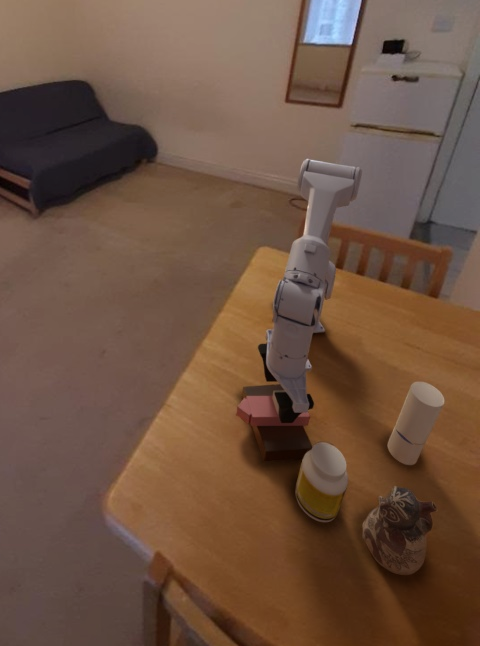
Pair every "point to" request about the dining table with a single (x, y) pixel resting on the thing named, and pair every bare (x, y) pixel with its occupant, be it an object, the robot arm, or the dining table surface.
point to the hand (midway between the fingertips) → (278, 399)
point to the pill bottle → (322, 482)
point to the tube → (415, 422)
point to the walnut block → (278, 433)
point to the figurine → (399, 531)
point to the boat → (266, 412)
